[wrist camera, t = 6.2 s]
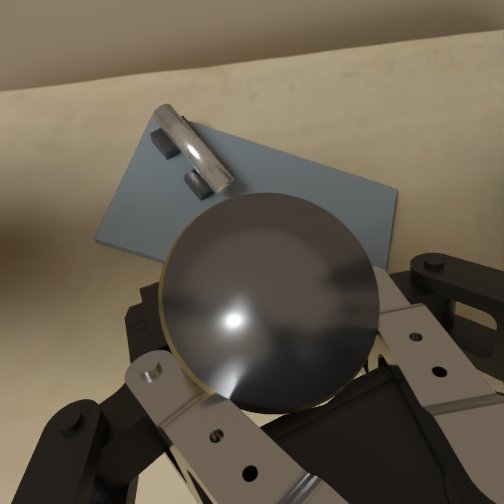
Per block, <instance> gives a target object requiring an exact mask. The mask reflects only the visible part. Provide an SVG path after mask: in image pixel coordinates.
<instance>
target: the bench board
mask: <svg viewBox="0 0 504 504" xmlns="http://www.w3.org/2000/svg"><path fill="white" fill-rule="evenodd" d="M155 111H156V110H154V112H155ZM154 112H153V115H154ZM153 115H152V117H151V119H150V121H149V123H148V125H147V127H146V129H145V132H144V134H143V136H142V138H141V140H140V142H139V144H138V146H137V148H136V151H135V153H134V155H133V157H132V159H131V161H130V163H129V165H128V168H127V170H126V172H125V174H124V176H123V178H122V180H121V182H120V184H119V187H118V189H117V191H116V193H115V195H114V197H113V199H112V201H111V204H110V206H109V208H108V210H107V212H106V214H105V216H104V218H103V221H102V223H101V225H100V227H99V229H98V231H97V233H96V235H95V237H94V239H95V241H96V242H97V243H100V244H103V245H106V246H109V247H113V248H116V249H119V250H123V251H126V252H129V253H132V254H136V255H139V256H142V257H145V258H149V259H152V260H155V261H158V262H162V263H164V262H165V260H166V257H167V254H168V252H169V251H170V249H171V247H172V245H173V243H174V241H175V240H176V239H177V237H178V236H179V235H180V233H181V232H182V230H183V229H184V228H185V227H186V226H187V225H188V224H189V223H190V222H191V221H192V220H193V219H194V218H196V217H197V216H198V215H199V214H201V213H202V212H203V211H205V210H207V209H208V208H210V207H211V206H213V205H215V204H217V203H220V202H222V201H224V200H226V199H230V198H233V197H236V196H240V195H246V194H251V193H265V192H268V193H281V194H286V195H291V196H295V197H298V198H301V199H305V200H307V201H309V202H312V203H314V204H316V205H318V206H320V207H321V208H323V209H325V210H327V211H328V212H329V213H331V214H332V215H334V216H335V217H336V218H338V219H339V220H340V221H341V222H342V223H343V224H344V225H345V226H346V227H347V228H348V229H349V230H350V231H351V232H352V233H353V235H354V236H355V237H356V238H357V240H358V241H359V243H360V244H361V246H362V247H363V248H364V250H365V252H366V254H367V256H368V258H369V260H370V262H371V265H372V266H376V267H379V268H381V269H383V270H384V271H385V272H386V265H387V258H388V251H389V244H390V237H391V230H392V224H393V217H394V210H395V203H396V196H397V189H395V188H392V187H389V186H386V185H383V184H380V183H377V182H373V181H370V180H367V179H364V178H361V177H358V176H355V175H352V174H349V173H346V172H343V171H340V170H337V169H334V168H331V167H328V166H325V165H322V164H319V163H316V162H312V161H309V160H306V159H303V158H300V157H297V156H294V155H291V154H288V153H285V152H282V151H279V150H276V149H273V148H270V147H267V146H264V145H261V144H258V143H255V142H252V141H248V140H245V139H242V138H239V137H236V136H233V135H230V134H227V133H224V132H221V131H218V130H215V129H212V128H209V127H206V126H203V125H200V124H197V123H194V122H191V121H188V122H189V123H190V124H191V125H192V126H193V128H194V129H195V130H196V131H197V132H198V133H199V139H200V140H201V141H202V142H203V143H204V144H205V146H206V147H207V148H208V149H209V150H210V151H211V153H212V154H213V155H214V156H216V155H217V156H218V157H219V158H220V159H221V160H222V161H223V163H224V164H225V165H226V166H227V167H228V168H229V170H230V171H231V172H232V173H233V178H234V183H233V185H232V186H231V187H230V188H229V189H228V190H227V191H226V192H224V193H223V194H220V195H216V193H215V192H214V193H212V194H211V195H209V196H208V197H206V198H204V199H203V200H201V201H200V200H199V198H198V197H197V196H196V195H195V193H194V192H193V191H192V190H191V189H190V187H189V186H188V185H187V184H186V183H185V180H184V174H186V173H188V172H189V171H191V170H192V169H194V167H193V166H192V165H191V164H190V162H189V161H188V160H187V159H186V158H185V156H184V155H183V154H182V153H181V152H180V153H178V154H177V155H175V156H173V157H171V158H170V159H168V160H166V158H165V157H164V156H163V155H162V153H161V152H160V151H159V150H158V149H157V147H156V146H155V145H154V144H153V143H152V141H151V135H150V133H152V132H154V131H156V130H157V129H159V128H160V127H159V125H158V124H157V123H156V122H155V121H154V119H153Z"/></svg>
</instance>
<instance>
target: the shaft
mask: <svg viewBox="0 0 504 504" xmlns="http://www.w3.org/2000/svg"><path fill="white" fill-rule="evenodd" d="M153 119H154V121H155V122H156V123H157V124H158V125H159V127H160V128H159V129H157V130H156V131H154V132H152V133H150V135H151V141H152V143H153V144H154V145H155V146H156V147H157V149H158V150H159V151H160V152H161V153H162V155H163V156H164V157H165V158H166V160H168V159H170V158H171V157H173V156H175V155H177V154H178V153H180V152H181V153H182V154H183V155H184V156H185V158H186V159H187V160H188V161H189V162H190V164H191V165H192V166H193V167H194V169H192V170H191V171H189V172H188V173H186V174H184V180H185V183H186V184H187V185H188V186H189V187H190V189H191V190H192V191H193V192H194V193H195V195H196V196H197V197H198V198H199V200H200V201H201V200H203V199H204V198H206V197H208V196H209V195H211V194H212V193H214V192H215V193H216V195H220V194H223V193H224V192H226V191H227V190H228V189H229V188H230V187H231V186H232V185H233V183H234V178H233V173H232V172H231V171H230V170H229V168H228V167H227V166H226V165H225V164H224V163H223V161H222V160H221V159H220V158H219V157H218V156H217V155H216V156H214V155H213V154H212V153H211V151H210V150H209V149H208V148H207V147H206V146H205V144H204V143H203V142H202V141H201V140H200V139H199V133H198V132H197V131H196V130H195V129H194V128H193V126H192V125H191V124H190V123H189V122H188V121H187V119H186V118H185V117H184V116H180V115H179V114H178V113H177V112H176V111H175V109H174V108H173V107H172V106H171V105H170V104H163V105H161V106H160V107H158V108H157V109H156V111H155V112H154V115H153Z"/></svg>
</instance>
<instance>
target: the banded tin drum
mask: <svg viewBox="0 0 504 504" xmlns="http://www.w3.org/2000/svg"><path fill="white" fill-rule="evenodd" d="M158 306H159V315H160V321H161V326H162V329H163V332H164V335H165V338H166V341H167V344H168V346H169V348H170V350H171V352H172V354H173V356H174V357H175V359H176V360H177V362H178V363H179V365H180V366H181V368H182V369H183V370H184V371H185V373H186V374H187V375H188V376H189V377H190V378H191V379H192V380H193V381H194V382H195V383H196V384H197V385H198V386H199V387H201V388H202V389H203V390H204V391H205V392H207V393H208V394H210V395H212V394H214V393H216V392H217V393H219V394H220V395H222V396H224V397H226V398H228V399H230V400H231V401H232V402H233V403H234V404H235V405H236V406H237V407H238V408H239V409H242V410H245V411H249V412H253V413H261V414H288V413H294V412H300V411H303V410H306V409H309V408H312V407H315V406H317V405H319V404H321V403H323V402H325V401H327V400H329V399H330V398H332V397H333V396H335V395H336V394H338V393H339V392H340V391H342V390H343V389H344V388H345V387H346V386H347V385H348V384H349V383H350V382H351V381H352V380H353V379H354V378H355V377H356V375H357V374H358V373H359V372H360V370H361V369H362V367H363V366H364V364H365V362H366V361H367V359H368V357H369V355H370V352H371V350H372V348H373V346H374V342H375V339H376V335H377V333H376V332H377V328H378V321H379V316H380V299H379V291H378V285H377V281H376V276H375V273H374V270H373V267H372V265H371V262H370V260H369V258H368V256H367V254H366V252H365V250H364V248H363V247H362V246H361V244H360V243H359V241H358V240H357V238H356V237H355V236H354V235H353V233H352V232H351V231H350V230H349V229H348V228H347V227H346V226H345V225H344V224H343V223H342V222H341V221H340V220H339V219H338V218H336V217H335V216H334V215H332V214H331V213H329V212H328V211H327V210H325V209H323V208H321V207H320V206H318V205H316V204H314V203H312V202H309V201H307V200H305V199H301V198H298V197H295V196H291V195H286V194H281V193H268V192H265V193H251V194H246V195H240V196H236V197H233V198H230V199H226V200H224V201H222V202H220V203H217V204H215V205H213V206H211V207H210V208H208V209H207V210H205V211H203V212H202V213H201V214H199V215H198V216H197V217H196V218H194V219H193V220H192V221H191V222H190V223H189V224H188V225H187V226H186V227H185V228H184V229H183V230H182V232H181V233H180V235H179V236H178V237H177V239H176V240H175V241H174V243H173V245H172V247H171V249H170V251H169V252H168V254H167V257H166V260H165V262H164V265H163V268H162V272H161V277H160V281H159V291H158Z"/></svg>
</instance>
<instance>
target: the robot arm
mask: <svg viewBox="0 0 504 504" xmlns="http://www.w3.org/2000/svg"><path fill="white" fill-rule="evenodd" d="M372 267H373V270H374V273H375V276H376V281H377V285H378V291H379V299H380V316H379V321H378V328H377V332H376V333H377V335H376V339H375V342H374V346H373V348H372V350H371V352H370V355H369V357H368V359H367V361H366V362H365V364H364V366H363V367H362V369H361V373H362V376H360V377H358V378H356V379H354V380H352V381H351V382H350V383H349V384H348V385H347V386H346V387H345V388H344V389H343V390H342V391H340V392H339V393H338V394H337V395H336V396H335V397H334V398H332V399H331V400H330V401H329V402H328V403H327V404H325V405H322V406H318V407H314V408H310V409H306V410H303V411H300V412H294V413H289V414H285V415H283V416H281V417H279V418H277V419H275V420H273V421H271V422H269V423H267V424H265V425H263V426H261V427H258V426H257V425H256V424H255V423H254V422H253V421H252V420H251V419H250V418H249V417H248V416H246V415H245V414H244V413H243V412H242V411H241V410H240V409H239V408H238V407H237V406H236V405H235V404H234V403H233V402H232V401H231V400H230V399H228V398H226V397H224V396H222V395H220V394H219V393H217V392H216V393H214V394H212V395H210V394H208V393H207V392H205V391H204V390H203V389H202V388H201V387H199V386H198V385H197V384H196V383H195V382H194V381H193V380H192V379H191V378H190V377H189V376H188V375H187V374H186V373H185V371H184V370H183V369H182V368H181V366H180V365H179V363H178V362H177V360H176V359H175V357H174V356H173V354H172V352H171V350H170V348H169V346H168V344H167V341H166V338H165V335H164V332H163V329H162V326H161V321H160V315H159V306H158V291H159V282H156V283H154V284H151V285H148V286H146V287H143V288H140V293H141V297H142V303H140V304H137V305H134V306H132V307H129V310H128V312H127V314H126V316H125V324H126V332H127V339H128V347H129V354H130V361H131V365H130V366H129V368H128V369H127V371H126V374H125V383H124V385H123V386H122V387H121V388H120V389H119V390H118V391H117V392H116V393H114V394H113V395H112V396H110V397H109V398H107V399H106V400H105V401H103V402H102V403H100V404H99V405H98V403H96V402H95V401H93V400H90V399H83V400H78V401H75V402H73V403H70V404H69V405H67V406H65V407H64V408H62V409H61V410H59V411H58V412H57V413H56V414H55V415H54V416H53V417H52V418H51V419H50V420H49V422H48V423H47V424H46V426H45V428H44V430H43V432H42V434H41V437H40V439H39V441H38V444H37V446H36V448H35V450H34V453H33V455H32V457H31V460H30V462H29V464H28V466H27V469H26V471H25V473H24V475H23V478H22V480H21V482H20V485H19V487H18V489H17V491H16V494H15V496H14V498H13V501H12V503H11V504H135V498H136V491H137V485H138V478H139V474H140V473H141V472H142V471H143V470H144V469H146V468H147V467H148V466H149V465H150V464H151V463H153V462H154V461H155V460H156V459H157V458H158V457H159V456H161V455H162V454H163V453H164V454H165V456H166V457H167V459H168V460H169V461H170V463H171V464H172V466H173V467H174V469H175V470H176V472H177V473H178V475H179V476H180V477H181V479H182V480H183V482H184V483H185V485H186V486H187V488H188V489H189V491H190V492H191V494H192V495H193V497H194V498H195V500H196V502H197V503H198V504H504V394H503V393H500V392H496V391H494V390H493V389H492V388H491V386H490V385H489V384H488V383H487V382H486V380H485V379H484V378H483V377H482V375H481V374H480V373H479V372H478V370H480V371H482V372H484V373H486V374H488V375H490V376H492V377H494V378H496V379H498V380H500V381H502V382H504V271H500V270H497V269H493V268H490V267H486V266H483V265H480V264H476V263H473V262H469V261H466V260H462V259H459V258H455V257H452V256H448V255H445V254H440V253H425V254H421V255H418V256H416V257H414V258H413V259H412V260H411V263H410V271H405V272H399V273H394V274H387V273H386V272H385V271H384V270H383V269H381V268H379V267H376V266H372ZM456 301H458V302H460V303H463V304H466V305H468V306H471V307H474V308H476V309H479V310H482V311H484V312H486V313H488V314H490V315H491V316H492V317H493V318H494V319H495V321H496V323H497V330H493V329H491V328H488V327H486V326H483V325H481V324H478V323H476V322H473V321H471V320H468V319H466V318H464V317H461V316H459V315H456V314H455V306H456ZM477 369H478V370H477Z"/></svg>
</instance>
